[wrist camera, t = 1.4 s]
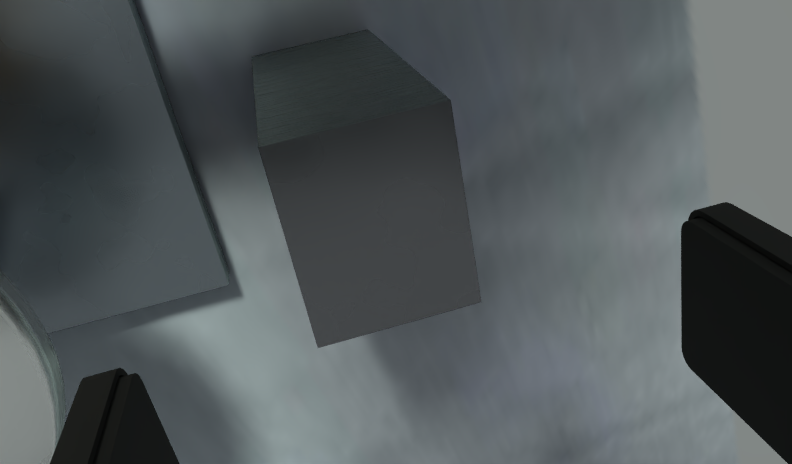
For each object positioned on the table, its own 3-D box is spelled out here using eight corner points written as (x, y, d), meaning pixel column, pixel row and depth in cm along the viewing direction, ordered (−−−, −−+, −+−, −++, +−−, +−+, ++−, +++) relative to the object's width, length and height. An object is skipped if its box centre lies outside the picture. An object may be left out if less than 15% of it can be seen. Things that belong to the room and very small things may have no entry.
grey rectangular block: (251, 56, 22) (258, 147, 13) (367, 29, 22) (450, 100, 14) (290, 192, 24) (318, 347, 15) (395, 165, 25) (481, 302, 16)
